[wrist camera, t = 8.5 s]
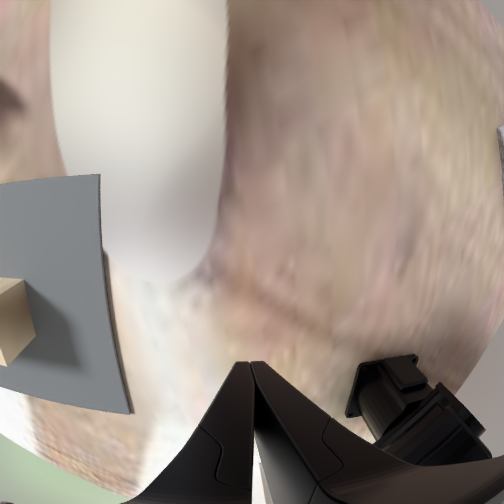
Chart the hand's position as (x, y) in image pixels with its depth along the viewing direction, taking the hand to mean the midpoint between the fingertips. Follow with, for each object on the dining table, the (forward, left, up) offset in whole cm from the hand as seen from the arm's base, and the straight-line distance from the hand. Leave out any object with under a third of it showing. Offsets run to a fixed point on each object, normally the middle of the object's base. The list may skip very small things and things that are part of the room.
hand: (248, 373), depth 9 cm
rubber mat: (-4, +20, -12) cm, 24 cm away
